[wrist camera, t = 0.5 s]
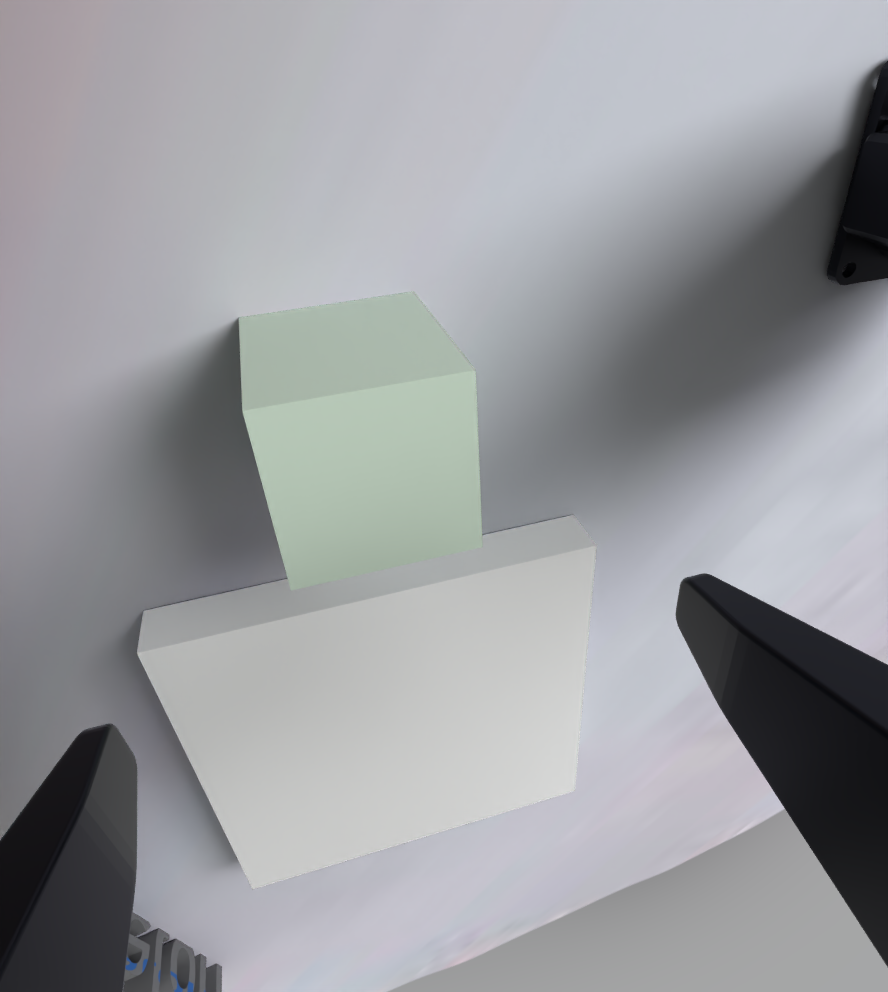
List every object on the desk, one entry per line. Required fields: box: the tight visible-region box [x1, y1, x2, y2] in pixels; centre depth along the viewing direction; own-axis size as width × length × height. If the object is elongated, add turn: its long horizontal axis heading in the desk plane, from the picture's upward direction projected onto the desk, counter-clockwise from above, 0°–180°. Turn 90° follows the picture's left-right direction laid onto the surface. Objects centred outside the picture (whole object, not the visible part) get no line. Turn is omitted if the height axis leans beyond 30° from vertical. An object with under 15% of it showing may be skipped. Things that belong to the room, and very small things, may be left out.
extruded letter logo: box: [123, 912, 222, 992], centre depth 28 cm, size 25×2×6 cm, turn 18°
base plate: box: [137, 515, 597, 889], centre depth 28 cm, size 16×16×2 cm
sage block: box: [239, 291, 483, 591], centre depth 18 cm, size 5×5×6 cm
